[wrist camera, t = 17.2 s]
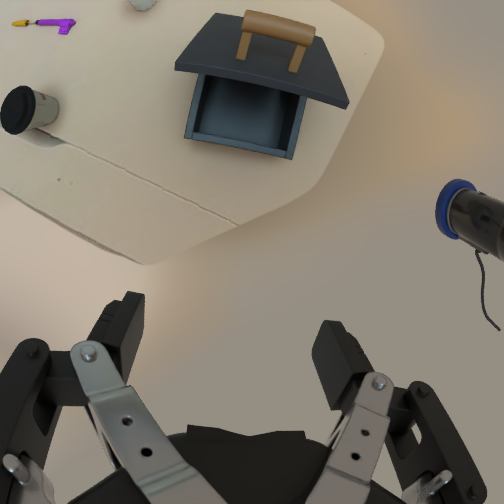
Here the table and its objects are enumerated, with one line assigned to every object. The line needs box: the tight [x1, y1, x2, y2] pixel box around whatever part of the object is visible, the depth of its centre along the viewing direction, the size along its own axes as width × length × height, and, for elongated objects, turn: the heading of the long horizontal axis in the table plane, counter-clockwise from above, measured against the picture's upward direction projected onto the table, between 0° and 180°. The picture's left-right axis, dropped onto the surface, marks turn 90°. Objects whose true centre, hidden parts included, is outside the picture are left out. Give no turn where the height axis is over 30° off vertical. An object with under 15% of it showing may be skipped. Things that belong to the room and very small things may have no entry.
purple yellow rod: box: [12, 19, 75, 34], centre depth 27 cm, size 3×1×16 cm
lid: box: [174, 10, 349, 110], centre depth 21 cm, size 17×13×5 cm
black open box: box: [184, 74, 307, 160], centre depth 33 cm, size 16×13×8 cm
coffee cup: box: [0, 86, 59, 135], centre depth 29 cm, size 7×7×10 cm
